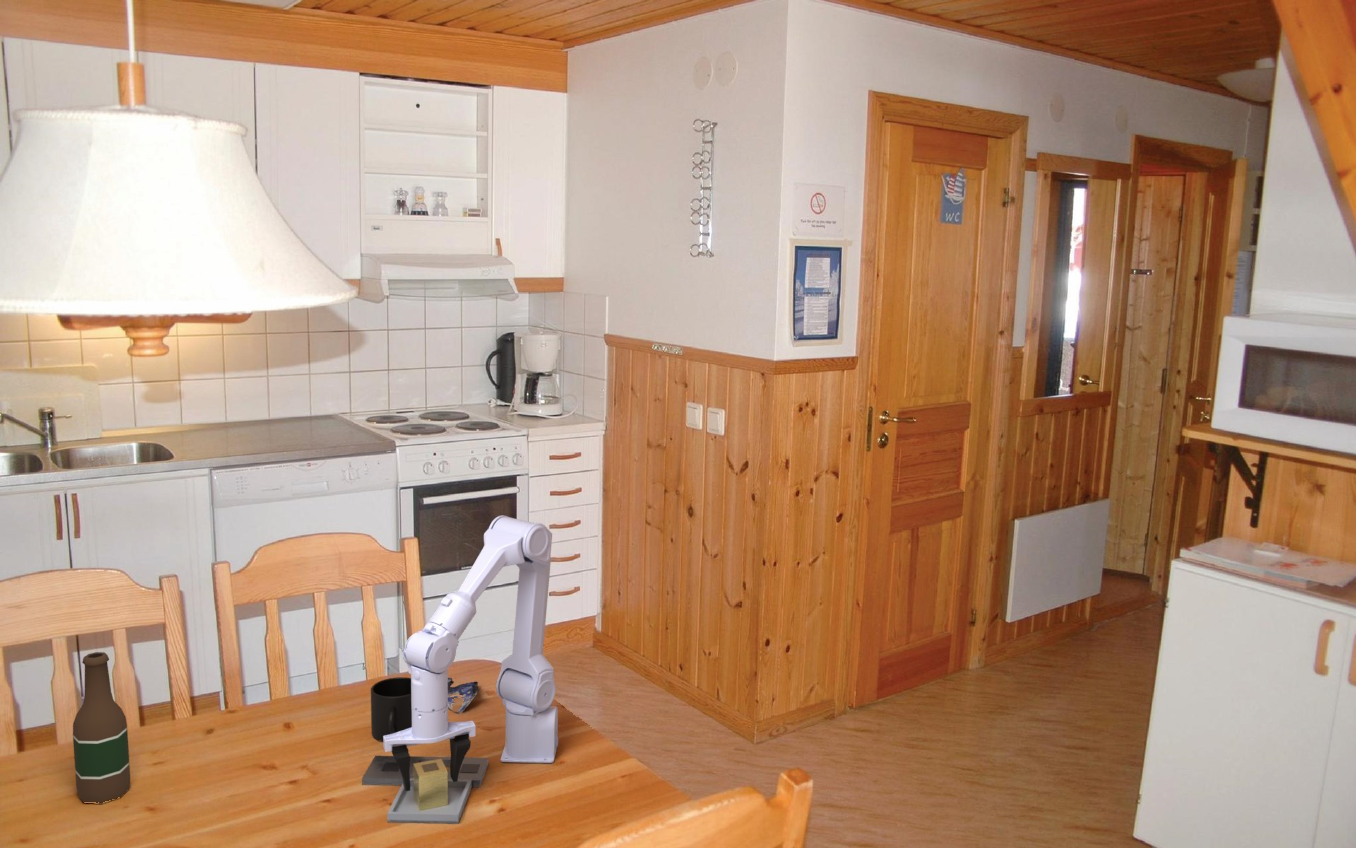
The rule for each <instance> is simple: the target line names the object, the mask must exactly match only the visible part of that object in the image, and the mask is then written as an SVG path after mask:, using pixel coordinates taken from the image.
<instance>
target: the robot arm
mask: <svg viewBox="0 0 1356 848" xmlns="http://www.w3.org/2000/svg"><path fill="white" fill-rule="evenodd" d="M552 542H553V533H552V532H551V531H550V529H548V527H547V526H546V525H545V524H543V523H540V522H531V521H527V520H522V519H518V518H515V517H514V518H513V517H509V516H508V515H498V516H497V517H495V518H493V520H492V521H491V523H490V525H489V527H488V528H487V530H486V531H485V532H484V534H483V548H482V549H481V551H480V552H479V554H478V556H477V558H476V560H475V561H474V563H473V565H472V566H471V568H470V570H469V571H468V573H467V575H466V576H465V579H464V580H463V581H462V583H461V585H460V586H459V588H458V590H455V591H453V592H449V593H446V596H444V597H443V598H442V600H441V601H440V604H439V605H438V607H437V608H436V610H435V611H434V613H433V614H432V615H431V616H430V618H429V620H428V621H427V622H426V623H425V625H424V627H423V628H422V629H421V630H418V631H416V632H414V633H413V634H412V635H410V636H409V638H408V639H407V640H406V643H405V645H404V650H403V651H402V652H401V655H402V659H403V662H405V663H406V665H407V668H408V674H409V675H410V678H411V706H412V727H411V728H408V729H405V730H402V731H400V732H397V733H393V734H390V735H385V736H383V742H382V745H383V750H384V751H385V753H389V752H391V753H392V756H394V758H395V760H396V762H397V764H398V766H399V768H400V771H401V775H402V779H403V786H404V788H405V791H410V775H409V769H410V756H411V755H410V753H409V748H408V747H411V746H417V745H423V744H435V743H439V742H442V741H445V740H446V741H447V740H449V748H450V749H449V751H450V757H451V762H450V766H449V769H450V775H451V778H452V780H453V782H457V781H458V775H459V771H460V768H461V765H462V762H463V759H464V757H466V755H467V754H468V752H469V750H470V748H471V743H472V741H471V740H470V738H473V737H477V736H476V731H477V730H476V724H475V722H474V721H473V720H469V721H467V720H466V721H449V707H448V678H449V676H448V673H449V672H448V671H449V670H448V669H449V668H450V667H451V665H452V664H453V663H454V661H455V658H456V656H457V648H458V646H459V643H460V641H459V639H460V638H461V636H462V635H463V633H464V632H465V630H466V629H467V627H468V626H469V624H470V623H471V622H472V620H473V619H474V617H475V615H476V614H477V606H476V602H477V600H478V599H479V598H480V597H481V596H482V594H483V593H484V592H485V590H486V589H487V588H488V587H489V585H490V584H491V583H492V582H493V581H494V579H495V578H496V576H497V575H498V574H499V573H500V571H501V570H502V569H503V568H504V567H509V566H515V565H516V567H518V569H519V572H518V581H517V582H518V584H517V592H516V593H517V594H516V596H517V597H516V606H515V618H514V619H515V620H514V631H513V641H512V643H513V644H512V653H511V654H510V655H509V656H507V657H506V658H504V659H503V660H502V661H501V666H500V671H499V674H498V676H497V679H496V683H495V691H496V694H497V696H498V697H499V698H500V699H501V700H502V705H503V707H505V744H504V748H503V750H502V754H501V756H500V762H501V763H539V764H540V763H541V764H551V763H554V762H555V758H556V754H557V753H556V752H557V751H558V750H557V748H558V746H559V736H558V735H559V734H558V732H559V731H558V729H559V728H558V727H559V724H558V723H559V711H558V706H555V705H551V704H552V703H553V701H554V699H555V696H556V691H557V690H556V689H557V688H556V683H555V677H554V672H555V671H554V670H555V669H554V667H553V665H552V664H551V663H550V662H549V661H548V659H547V658H546V657H545V655H544V643H545V632H546V622H547V621H546V619H547V607H548V599H549V585H550V573H551V563H552V562H551V560H552V558H551V556H552V555H551V551H552Z"/></svg>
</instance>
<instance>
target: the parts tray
mask: <svg viewBox="0 0 1356 848" xmlns="http://www.w3.org/2000/svg"><path fill="white" fill-rule="evenodd" d="M472 788H473V787H472V780H459V779H458V781H457V782H453V780H452V779H448V806H443V807H438V808H433V809H428V810H423V811H419V809H418V807H417V804H416V802H415V800H414V782H413V779H410V791H405V788H404V786H403V784H402V785H400V788H399V789H398V792H397V793H396V796H395V798H394V799H393V802H392V803H391V805H390V807H389V809H388V811H387V816H386V817H387V818H386V819H387V820H386V821H387V823H401V824H402V823H404V824H406V823H407V824H408V823H409V824H449V825H450V824H452V825H453V824H457V825H458V824H459V822H460V820H461V818H462V815H463V812H464V809H465V807H466V804H467V801H468V799H469V796H470V793H471V790H472Z"/></svg>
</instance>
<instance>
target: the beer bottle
mask: <svg viewBox="0 0 1356 848" xmlns="http://www.w3.org/2000/svg"><path fill="white" fill-rule="evenodd" d="M109 661H110V658H109V655H108V653H106V652H104V651H99V652H98V651H97V652H90V653H88V654H87V655H85V656H84V657H83V658H82V664H83V665H84V697H83V704H82V705H81V707H80V708H79V710H78V711H77V713H76V714H75V718H74V721H73V723H72V742H73V757H74V759H73V760H74V771H75V783H76V784H75V785H76V793H77V797H78V796H79V797H80V798H79V797H78V798H79V799H80V800H81V802H82V801H83V802H96V803H98V802H99V803H103V802H105V801H109V800H112V799H116V798H118V797H121V796H122V795H123V794H124V793H125V792H126V791H127V790H128V789H129V788H130V789H131V770H130V769H131V767H130V754H129V753H130V751H129V736H128V735H129V733H128V732H129V731H128V723H127V717H126V715H125V713H124V711H123V709H122V708H121V707H120V706H119V704H118V703H117V702H116V701H115V699H114V697H113V693H112V690H111V689H112V688H111V681H110V680H111V679H110V674H109V673H110V671H109V666H108V665H109V664H108V662H109ZM130 789H129V790H130ZM129 790H128V791H129ZM128 791H127V792H128ZM127 792H126V793H127ZM126 793H125V794H126ZM125 794H124V795H125ZM124 795H123V796H124ZM123 796H122V797H123ZM122 797H121V798H122ZM83 802H82V803H83Z"/></svg>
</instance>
